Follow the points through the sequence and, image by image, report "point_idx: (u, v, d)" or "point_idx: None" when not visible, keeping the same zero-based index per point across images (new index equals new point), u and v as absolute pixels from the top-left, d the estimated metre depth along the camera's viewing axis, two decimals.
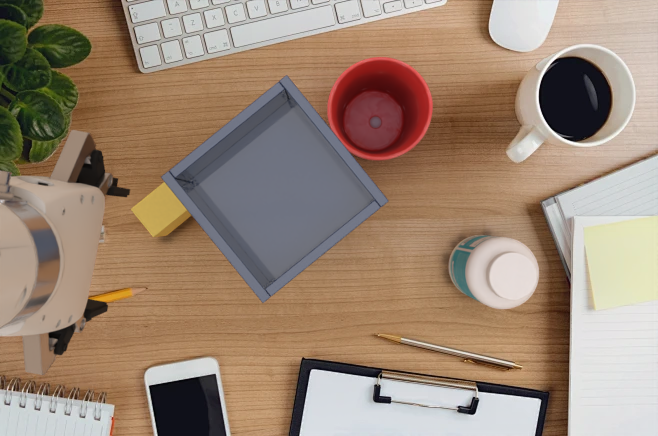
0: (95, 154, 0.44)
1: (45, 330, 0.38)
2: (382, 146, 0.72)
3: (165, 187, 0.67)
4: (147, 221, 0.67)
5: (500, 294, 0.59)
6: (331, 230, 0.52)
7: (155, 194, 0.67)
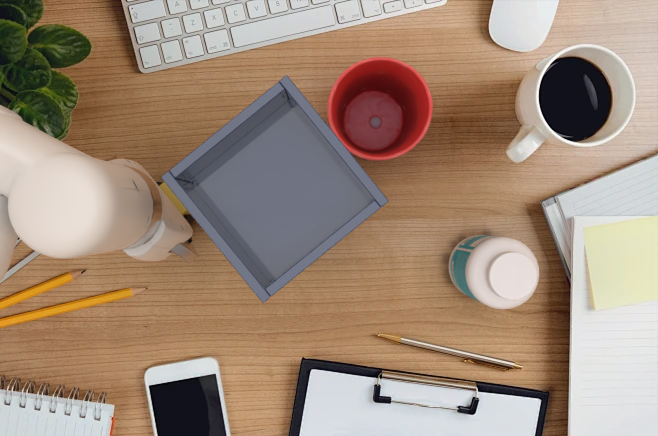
0: None
1: (178, 230, 0.58)
2: (382, 146, 0.72)
3: (165, 187, 0.67)
4: None
5: (500, 294, 0.59)
6: (331, 230, 0.52)
7: None
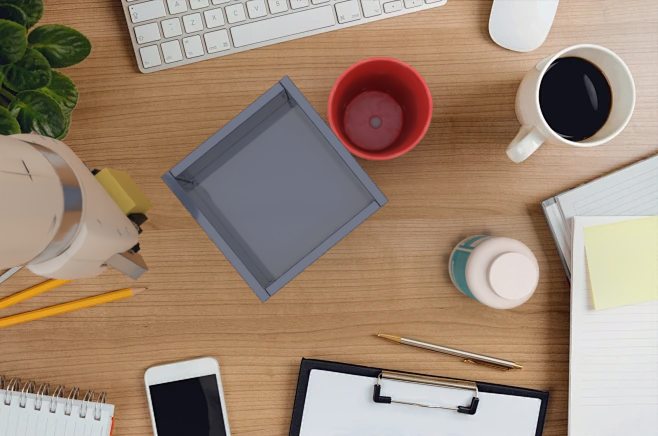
0: None
1: (112, 235, 0.41)
2: (382, 146, 0.72)
3: (105, 176, 0.49)
4: None
5: (500, 294, 0.59)
6: (331, 230, 0.52)
7: None
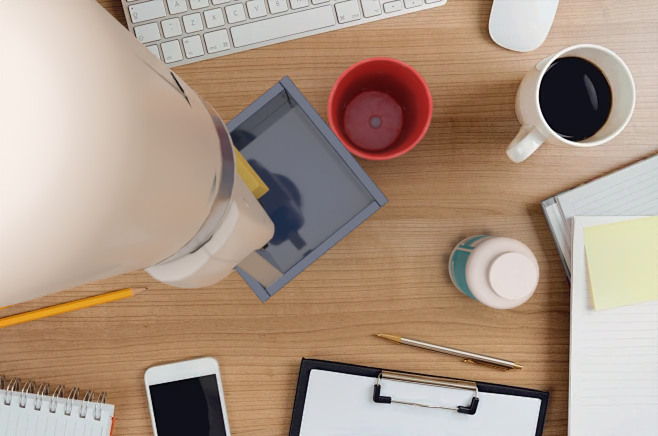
0: None
1: (260, 223, 0.27)
2: (382, 146, 0.72)
3: None
4: None
5: (500, 294, 0.59)
6: (331, 230, 0.52)
7: None
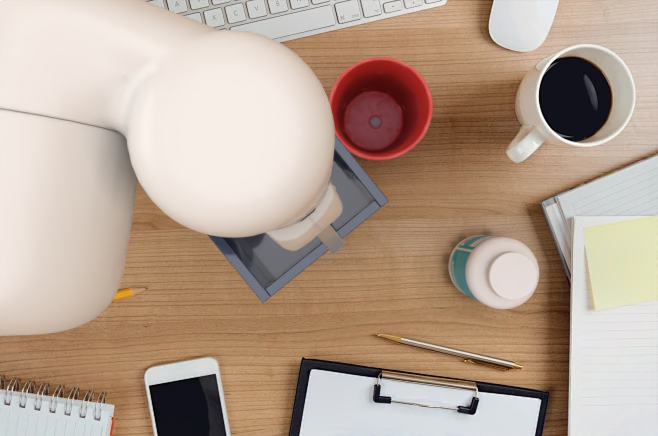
0: None
1: None
2: (382, 146, 0.72)
3: None
4: None
5: (500, 294, 0.59)
6: None
7: None
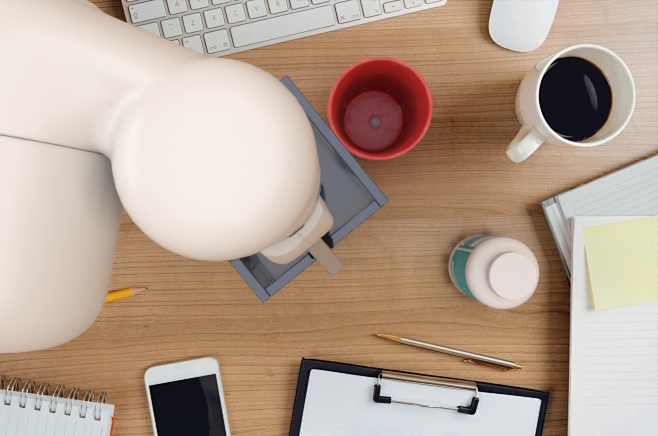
0: None
1: (330, 216, 0.38)
2: (382, 146, 0.72)
3: None
4: None
5: (500, 294, 0.59)
6: (331, 230, 0.52)
7: None
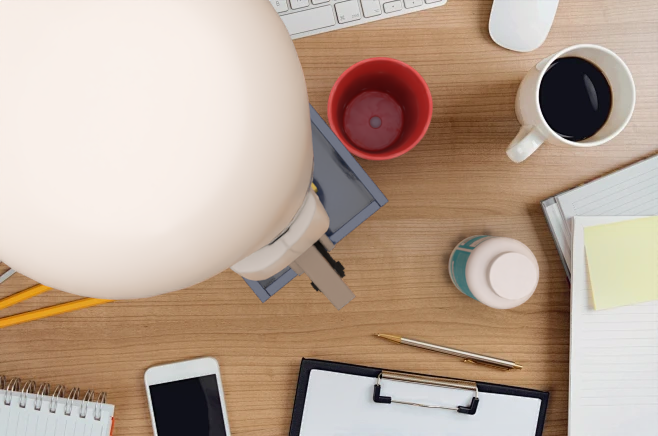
0: None
1: (326, 216, 0.28)
2: (382, 146, 0.72)
3: None
4: None
5: (500, 294, 0.59)
6: (331, 230, 0.52)
7: None
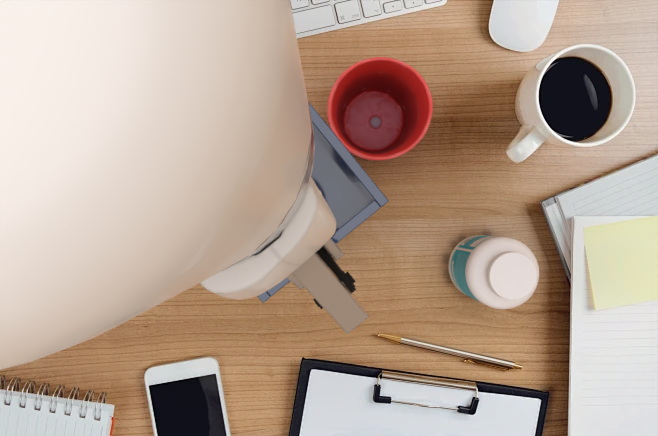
0: None
1: (331, 217, 0.22)
2: (382, 146, 0.72)
3: None
4: None
5: (500, 294, 0.59)
6: None
7: None
